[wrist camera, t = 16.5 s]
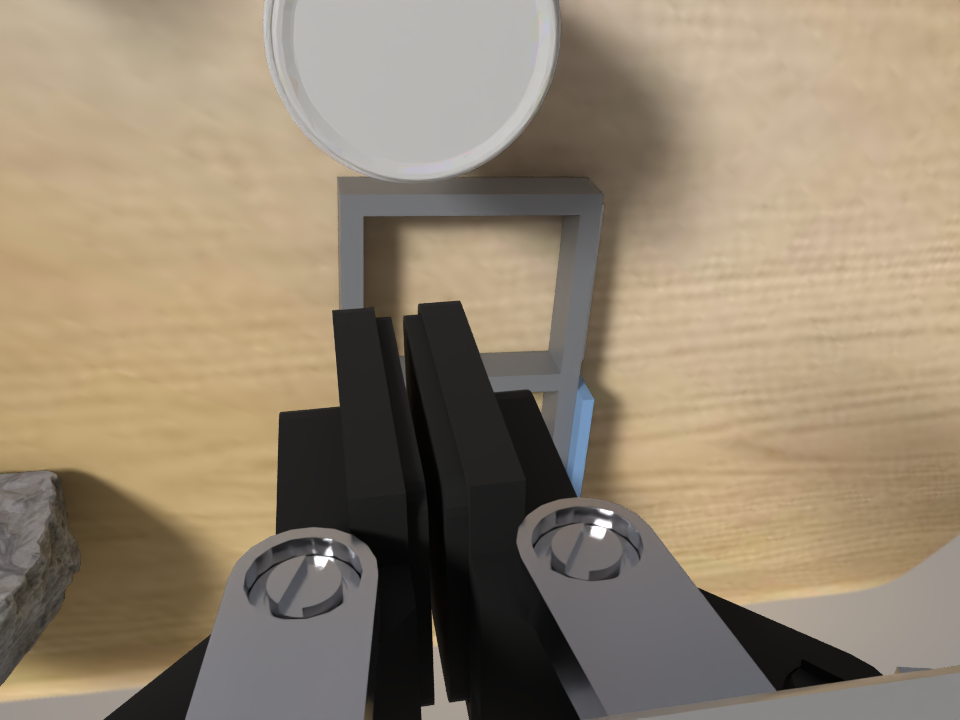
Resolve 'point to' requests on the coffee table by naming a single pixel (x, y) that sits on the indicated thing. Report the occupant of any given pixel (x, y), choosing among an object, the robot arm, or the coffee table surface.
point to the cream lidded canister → (412, 78)
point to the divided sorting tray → (573, 295)
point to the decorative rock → (32, 560)
